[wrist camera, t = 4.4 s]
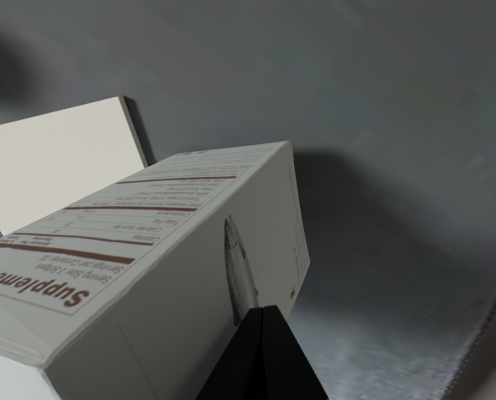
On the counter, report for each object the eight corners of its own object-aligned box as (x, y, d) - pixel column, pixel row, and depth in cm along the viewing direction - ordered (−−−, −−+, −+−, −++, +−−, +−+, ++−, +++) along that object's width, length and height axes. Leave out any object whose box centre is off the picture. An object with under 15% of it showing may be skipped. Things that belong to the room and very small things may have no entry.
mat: (122, 95, 16) (117, 96, 16) (194, 294, 22) (192, 300, 21) (-47, 136, 18) (-57, 138, 17) (59, 313, 23) (54, 319, 23)
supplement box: (314, 263, 17) (189, 603, 7) (205, 254, 20) (11, 470, 10) (296, 135, 14) (33, 380, 4) (174, 148, 17) (-143, 299, 7)
